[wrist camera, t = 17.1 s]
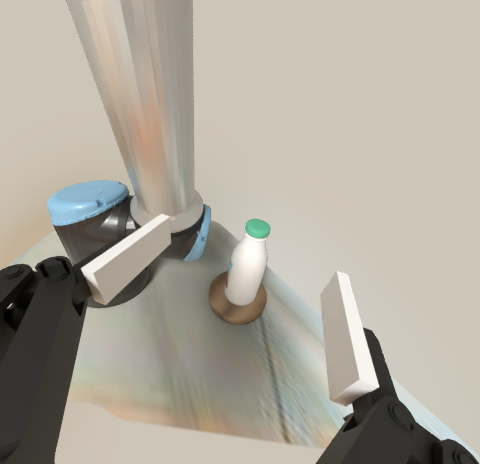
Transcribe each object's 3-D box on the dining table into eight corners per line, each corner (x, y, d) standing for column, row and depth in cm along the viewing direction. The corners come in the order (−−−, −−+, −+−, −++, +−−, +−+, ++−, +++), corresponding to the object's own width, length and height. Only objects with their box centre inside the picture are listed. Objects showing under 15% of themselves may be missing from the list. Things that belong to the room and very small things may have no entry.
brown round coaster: (197, 307, 43) (198, 302, 42) (224, 268, 54) (225, 263, 53) (254, 335, 40) (257, 330, 39) (270, 288, 51) (272, 283, 50)
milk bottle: (261, 295, 46) (287, 229, 35) (238, 313, 41) (260, 242, 30) (240, 275, 50) (257, 210, 39) (217, 289, 45) (229, 219, 34)
